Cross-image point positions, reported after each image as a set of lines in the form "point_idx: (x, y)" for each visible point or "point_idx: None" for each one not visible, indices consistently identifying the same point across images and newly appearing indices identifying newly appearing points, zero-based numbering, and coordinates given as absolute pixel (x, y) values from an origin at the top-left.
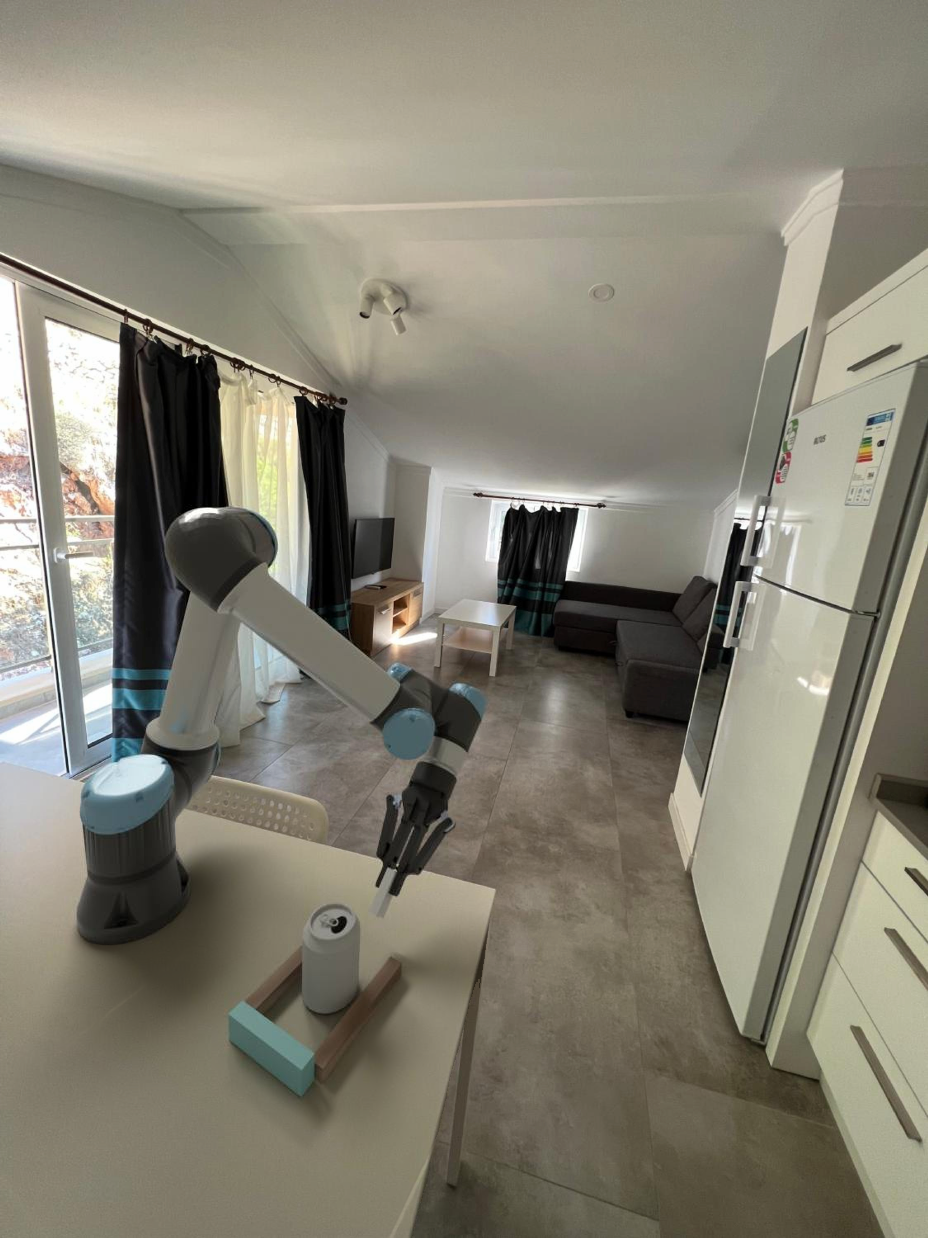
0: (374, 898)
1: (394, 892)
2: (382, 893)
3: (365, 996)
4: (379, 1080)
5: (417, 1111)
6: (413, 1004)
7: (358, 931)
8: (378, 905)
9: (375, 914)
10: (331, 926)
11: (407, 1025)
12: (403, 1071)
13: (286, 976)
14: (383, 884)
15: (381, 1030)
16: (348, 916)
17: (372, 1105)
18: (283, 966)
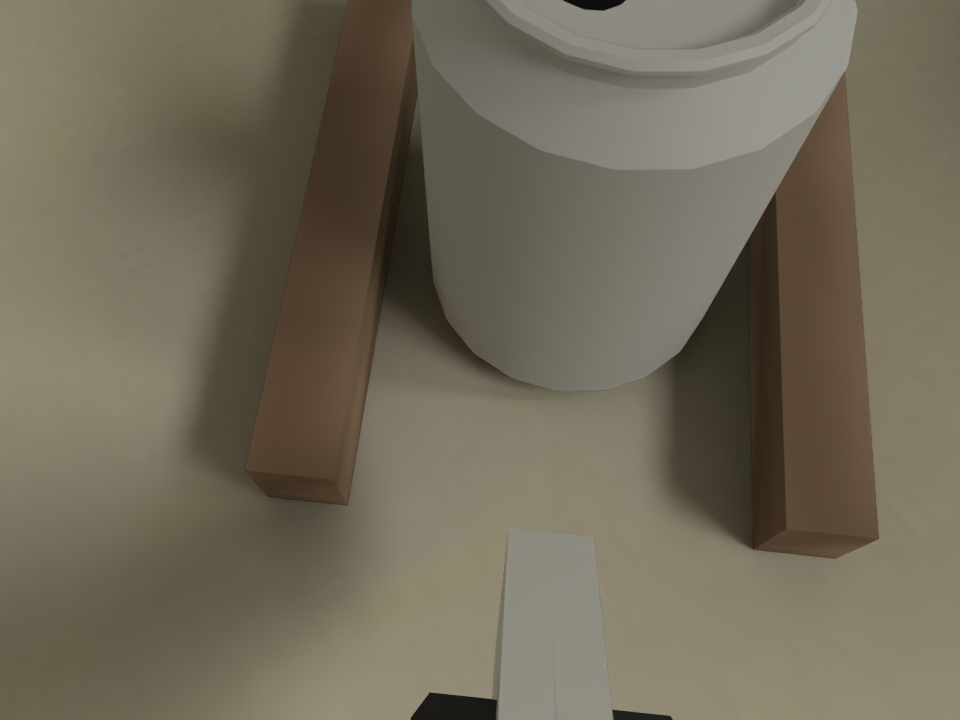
0: (599, 609)
1: (427, 714)
2: (541, 650)
3: (351, 221)
4: (176, 87)
5: (3, 63)
6: (146, 389)
7: (429, 27)
8: (528, 575)
9: (521, 533)
10: (730, 236)
11: (140, 292)
12: (95, 141)
13: None
14: (575, 712)
15: (248, 230)
16: (567, 24)
17: (169, 25)
18: (838, 186)
